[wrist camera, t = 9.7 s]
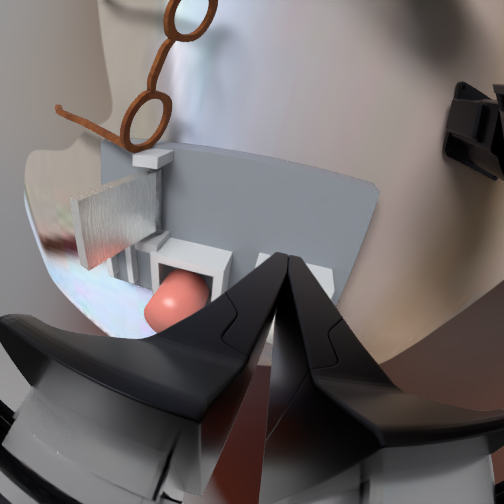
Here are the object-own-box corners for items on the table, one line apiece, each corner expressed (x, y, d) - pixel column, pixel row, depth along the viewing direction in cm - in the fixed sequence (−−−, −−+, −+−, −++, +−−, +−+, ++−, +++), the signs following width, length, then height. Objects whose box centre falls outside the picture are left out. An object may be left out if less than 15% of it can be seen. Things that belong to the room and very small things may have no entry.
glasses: (162, 147, 20) (127, 163, 16) (58, 107, 19) (20, 117, 15) (227, -3, 13) (204, -27, 9) (100, -16, 12) (64, -25, 8)
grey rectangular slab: (166, 167, 19) (78, 198, 13) (164, 229, 22) (90, 274, 16) (154, 164, 19) (68, 193, 13) (153, 225, 22) (80, 266, 16)
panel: (373, 183, 19) (390, 206, 15) (323, 317, 27) (323, 354, 23) (114, 137, 21) (78, 149, 17) (121, 266, 28) (97, 292, 24)
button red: (210, 275, 21) (192, 310, 18) (207, 311, 23) (192, 346, 20) (165, 264, 21) (141, 295, 18) (166, 299, 23) (146, 331, 20)
